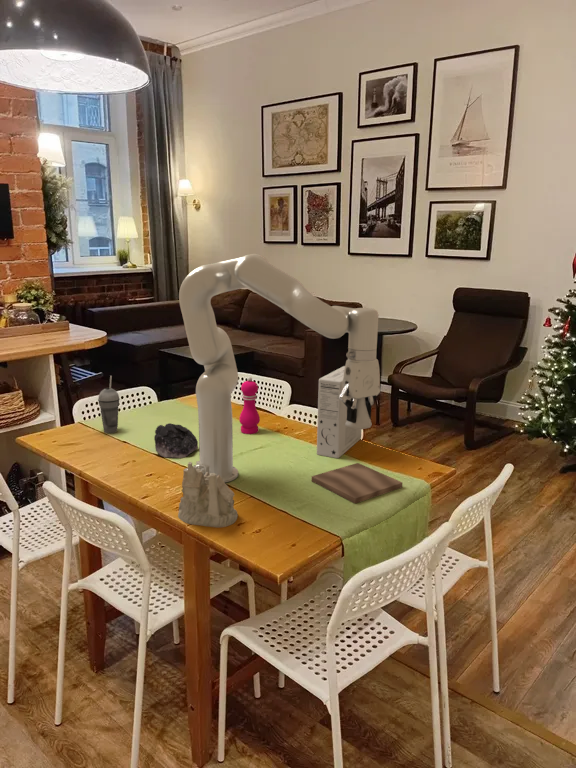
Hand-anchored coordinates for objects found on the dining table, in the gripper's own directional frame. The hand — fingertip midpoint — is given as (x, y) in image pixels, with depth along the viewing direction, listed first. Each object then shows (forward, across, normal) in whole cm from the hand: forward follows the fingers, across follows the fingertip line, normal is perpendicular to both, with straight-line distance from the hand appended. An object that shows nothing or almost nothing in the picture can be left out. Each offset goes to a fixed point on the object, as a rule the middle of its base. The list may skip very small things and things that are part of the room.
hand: (358, 419), depth 164 cm
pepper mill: (+20, +1, +56) cm, 59 cm away
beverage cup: (+20, -39, +84) cm, 94 cm away
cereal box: (+19, +17, +26) cm, 37 cm away
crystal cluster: (+20, -29, +53) cm, 63 cm away
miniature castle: (+20, -42, +9) cm, 47 cm away
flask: (+2, 0, 0) cm, 2 cm away
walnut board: (+19, 0, 0) cm, 19 cm away
